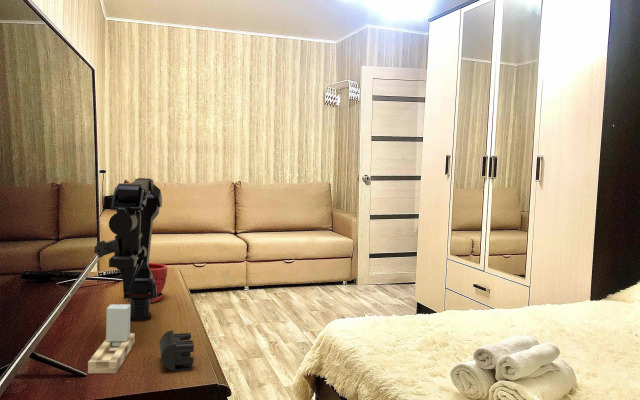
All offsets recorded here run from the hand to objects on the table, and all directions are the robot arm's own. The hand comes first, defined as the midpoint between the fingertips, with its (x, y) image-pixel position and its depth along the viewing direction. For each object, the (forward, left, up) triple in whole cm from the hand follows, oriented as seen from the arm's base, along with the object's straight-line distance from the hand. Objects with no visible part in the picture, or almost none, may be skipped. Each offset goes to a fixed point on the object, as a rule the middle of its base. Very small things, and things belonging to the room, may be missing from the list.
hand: (128, 287), depth 143 cm
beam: (+17, -3, -13) cm, 21 cm away
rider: (+12, -2, -11) cm, 16 cm away
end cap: (+24, +11, -13) cm, 30 cm away
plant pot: (-37, +5, -13) cm, 40 cm away
